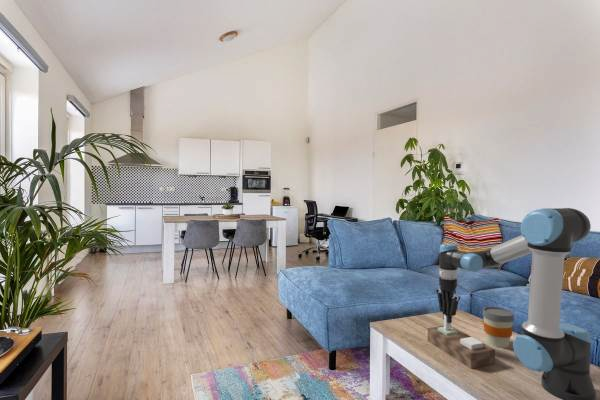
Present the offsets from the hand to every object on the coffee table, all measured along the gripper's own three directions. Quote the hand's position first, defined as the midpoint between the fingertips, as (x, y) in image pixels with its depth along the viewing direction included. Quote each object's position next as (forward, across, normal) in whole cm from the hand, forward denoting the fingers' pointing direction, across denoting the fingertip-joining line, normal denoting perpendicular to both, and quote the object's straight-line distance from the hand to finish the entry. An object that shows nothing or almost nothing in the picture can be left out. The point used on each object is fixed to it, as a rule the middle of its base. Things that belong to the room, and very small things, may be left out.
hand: (447, 328), depth 155 cm
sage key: (+5, 0, 0) cm, 5 cm away
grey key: (+5, +14, 0) cm, 15 cm away
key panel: (+7, +7, 0) cm, 10 cm away
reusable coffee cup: (+8, +6, +23) cm, 25 cm away
